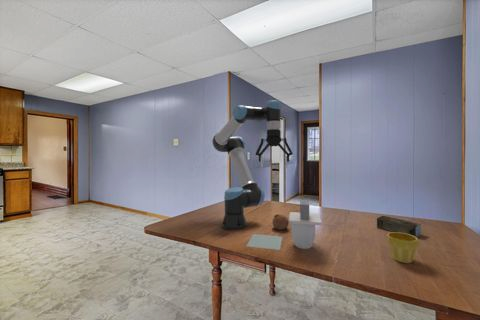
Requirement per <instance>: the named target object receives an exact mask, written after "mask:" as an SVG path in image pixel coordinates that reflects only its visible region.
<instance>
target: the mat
mask: <svg viewBox="0 0 480 320" xmlns="http://www.w3.org/2000/svg"><path fill="white" fill-rule="evenodd" d="M282 242H283V236H279V235H268V234H259V233H258V234H257V233H256V234H255V233H253V234H252V235H251V236H250V239H249V240H248V242H247V243H246V247H247V248H258V249H266V250H267V249H269V250H276V251H278V250H279V251H281V246H282Z"/></svg>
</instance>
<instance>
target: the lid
mask: <svg viewBox="0 0 480 320" xmlns="http://www.w3.org/2000/svg"><path fill="white" fill-rule="evenodd" d="M288 220H289V224H291V223H295V224H309V225H315V226H322V220H321V216H320V213H314V212H313V213H311V212H310V201H309V200H305V199H304V200H302V199H301V200H299V212H294V211H291V212H290V211H289V218H288Z"/></svg>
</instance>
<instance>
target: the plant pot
mask: <svg viewBox="0 0 480 320" xmlns="http://www.w3.org/2000/svg"><path fill="white" fill-rule="evenodd" d="M387 243H388V244H389V248H390V251H391V255H392V259H394V261H396V262H399V263H403V264H411V263H412V262H413V261H414V256H415V253H416V250H417V249H418V248H419V239H418V237H415V236H413V235H410V234H406V233H400V232H392V231H390V232H388V233H387Z"/></svg>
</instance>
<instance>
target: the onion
mask: <svg viewBox="0 0 480 320" xmlns="http://www.w3.org/2000/svg"><path fill="white" fill-rule="evenodd" d="M289 224H290V223H289V218H288V216H287V215H285V214H278V213H277V214H274V217H273V218H272V226H273V228H274V229H275V230H278V231H284V230H286V229H288V227H289Z"/></svg>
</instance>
